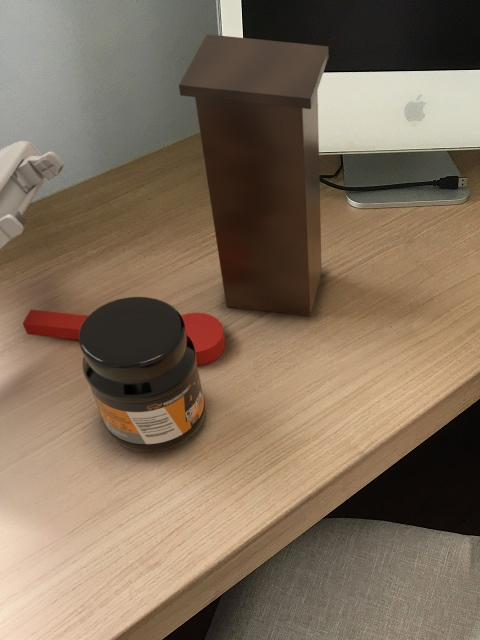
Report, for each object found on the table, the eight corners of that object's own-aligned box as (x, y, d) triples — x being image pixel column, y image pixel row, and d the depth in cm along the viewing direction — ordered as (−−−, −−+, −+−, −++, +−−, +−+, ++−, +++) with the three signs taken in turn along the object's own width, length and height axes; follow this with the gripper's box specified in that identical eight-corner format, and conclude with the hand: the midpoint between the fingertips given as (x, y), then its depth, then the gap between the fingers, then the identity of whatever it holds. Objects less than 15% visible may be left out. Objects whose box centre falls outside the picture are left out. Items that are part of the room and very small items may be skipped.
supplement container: (167, 471, 77) (142, 386, 68) (82, 432, 80) (46, 344, 70) (227, 403, 83) (212, 315, 73) (146, 368, 85) (121, 278, 76)
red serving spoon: (20, 346, 87) (14, 332, 85) (41, 308, 90) (35, 294, 89) (218, 368, 86) (215, 355, 84) (231, 329, 90) (229, 315, 88)
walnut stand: (215, 311, 91) (178, 84, 70) (235, 258, 97) (206, 33, 76) (317, 323, 91) (310, 98, 70) (331, 268, 97) (328, 46, 75)
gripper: (-133, 280, 72) (-36, 229, 66) (-38, 157, 84) (52, 104, 78) (-74, 329, 76) (22, 286, 70) (8, 205, 88) (97, 159, 82)
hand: (38, 189), depth 74 cm, fingers open, 8 cm apart
